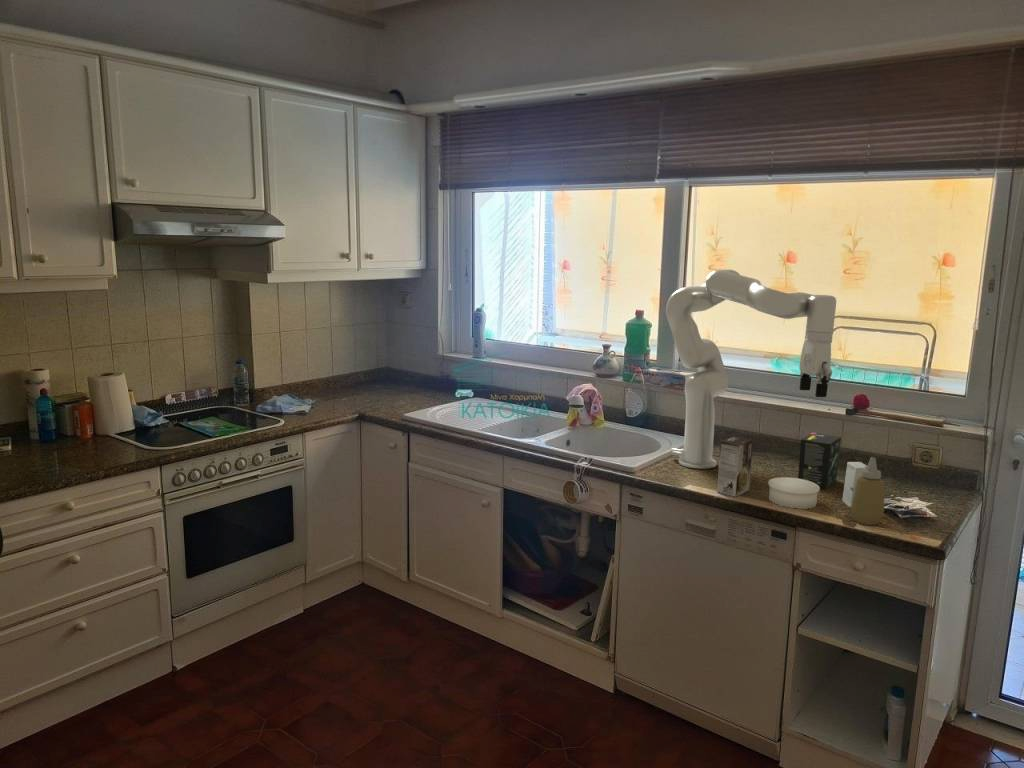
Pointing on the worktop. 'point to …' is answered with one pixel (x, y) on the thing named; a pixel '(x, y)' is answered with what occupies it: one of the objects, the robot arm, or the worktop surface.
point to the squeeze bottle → (869, 496)
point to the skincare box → (852, 480)
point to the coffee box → (734, 465)
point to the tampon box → (819, 459)
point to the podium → (793, 492)
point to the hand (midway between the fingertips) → (812, 393)
